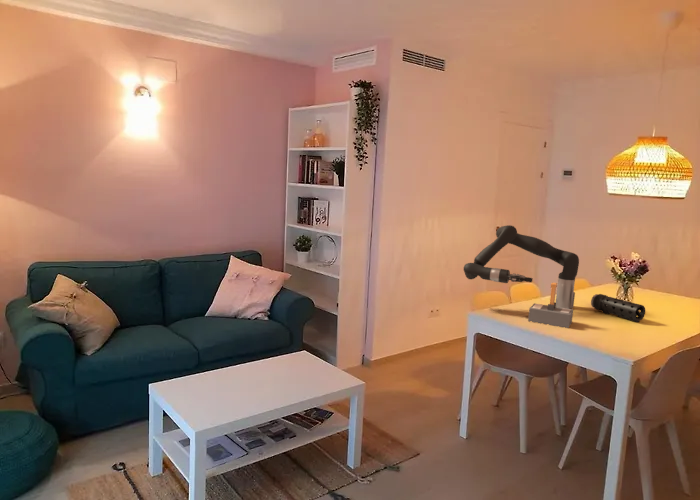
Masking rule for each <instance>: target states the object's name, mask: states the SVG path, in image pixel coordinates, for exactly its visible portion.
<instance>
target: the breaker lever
mask: <svg viewBox="0 0 700 500" xmlns="http://www.w3.org/2000/svg"><path fill="white" fill-rule="evenodd" d="M557 286H558V282H551V283H550V288H551V290H550V298H549V304H551V305H554V302H556V294H557Z"/></svg>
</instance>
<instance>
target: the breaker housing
mask: <svg viewBox="0 0 700 500" xmlns="http://www.w3.org/2000/svg"><path fill="white" fill-rule="evenodd" d="M528 310H529V311H528V320H527V321H528V322H530V321H532V322H531V323H535V322H538V323H537V324H541V323H544V324H543V325H547V324H549V325H548V326H552V327H558V326H559V327H560V328H564V327H565V329H570V327H571V324H572V322H573V316H574V309H573V308H570V309H567V308H561V307H556V301H555V302H554V305H551V304H550V303H548V304H540V303H533V304H532V305H530V307H529V309H528ZM569 326H570V327H569ZM559 327H558V328H559Z"/></svg>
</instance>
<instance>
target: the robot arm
mask: <svg viewBox="0 0 700 500" xmlns="http://www.w3.org/2000/svg"><path fill="white" fill-rule="evenodd" d="M495 235H496V239H495V240H494V241H492V243H490V244H489V245H487V246H486V247H485V248H483V249H482V250H481V251H480V252H479V253H478V254H476V256H475V257H474V259H473V262H468V263H465V264H464V266H463V273H464V275H465V277H466V278H467V279H468V280H474V279H476V278H478V277H480V279H482V280H485V281H491V282H492V281H493V282H495V283H501V284H508V283H509V281H511V282H513V283H514V282H515V283H525V282H527V283H532V282H533V278H532V277H528V276H527V277H526V276H525V275H524V274H520V273H510V269H506V268H497V267H489V266H487V267H486V265H487V264H488V263H489V262H490V260H492V258H494V257H495V256H496V255H497V254H498V252H500V251H501V250H502V249H504V248H505V247H506V246H507V245H508V244H510V245H513V246H514V247H517V248H519V249H522V250H524V251H525V252H529V253H530V254H533V255H536V256H538V257H541V258H545V259H549V260H551V261H554V262H555V263H557V264H559V265H560V266H562V270H561V272H559V273H558V275H557V276H558V277H557V287H556V294H555V302H556V307H561V308H567V309H573V308H574V305H575V297H576V296H575V295H576V292H574V291H575V283H576V277H577V275H578V271H579V267H580V266H579V265H580V259H579V256H578V254H576V253H574V252H570V251H567V250H563V249H559V248H557V247H554V246H553V245H551V244H550V243H548V242H547V241H544V240H542V239H540V238H537V237H534V236H530V235H526V234H520V233H518V230H517V228H516V227H515V226H514V225H511V224H508V225H503V226H500V227H498V228H497V229H496V231H495Z"/></svg>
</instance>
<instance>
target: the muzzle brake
mask: <svg viewBox="0 0 700 500" xmlns="http://www.w3.org/2000/svg"><path fill="white" fill-rule="evenodd" d="M590 304H591V307H592V308H594V309H595V310H597V311H601V312H602V313H604V314H607V315H610V314H612V315H615V316H617V317H619V318H622V319H625V320H628V321H631V322H636V323H639V322H640V321H642V320H643V319H644V318H645V315H646V307H645V305H643V304H639V303H635V302H631V301H627V300H623V299H619V298H616V297H612V296H608V295H607V294H602V293H599V294H594V295H593V296H592V297H591V300H590Z"/></svg>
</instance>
